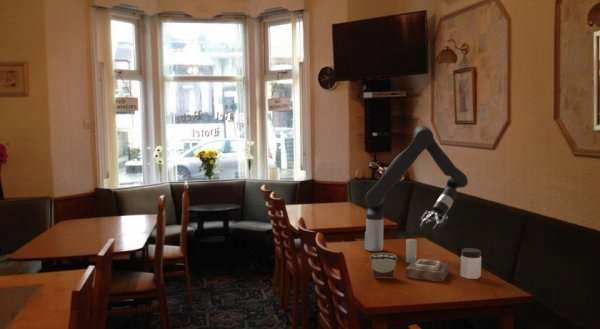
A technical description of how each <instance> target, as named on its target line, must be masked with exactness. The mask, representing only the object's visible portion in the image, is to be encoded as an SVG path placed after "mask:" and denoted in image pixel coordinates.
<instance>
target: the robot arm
mask: <svg viewBox="0 0 600 329" xmlns="http://www.w3.org/2000/svg"><path fill="white" fill-rule="evenodd" d="M425 150H426V151H427V153H429V155H430V156H431V158H432V160H433V161H434V162H435V164H436V166H437V167H438V169H439V170H441V172H442V173H443V175H445V176H446V177H449V178H448V179H447V181H446V183H445V187H444V190H443V191H442V193H441V194H440V195H439V197H438V198H437V199H436V200H435V203H434V205H433V206H432V207H431V211H428V210H425V211H424V213H423V214H422V215H421V217H420V220H421V223H420V224H419V228H420V229H421V230H423V229H424V228H425V227H426V225H427V223H431V222H436V223H435V224H434V226H433V227H432V229H431V230H432V231H433V232H434V233H436V232H437V231H438V230H439V228H440V227H445V225H446V223H447V222H448V220H449V216H448V215H447V214H448V212H449V210H450V209H451V207H452V205H453V203H454V202H455V200H456V198H457V196H458V191H457V189H461V188H465V187H466V186H468V183H469V181H468V177H467V176H466V173H464V172H463V171H462V170H460V169H459V168H458V167H457V166H455V165H454V163H453V162H452V160H451V158H449V156H448V155H447V154H446V153H445V152H444V150H442V148H441V147H440V146H439V144H438V143H437V141H436V140H435V138H434V134H433V131H431V129H430V128H429V127H428V126H425V125H421V126H417V127H416V128H415V129H414V132H413V139H412V141H411V142H410V143H409V145H408V146H407V148H405V149H404V150H403V151H402V152H400V153H399V154H398V155H397V156H395V157H394V159H392V161H391V162H390V164H389V165H388V167H387V168H386V169H385V171H384V172H383V173H382V175H381V177H380V178H379V180H378V181H377V182H376V183H375V184H374V186H373V187H372V188H370V189H369V190H368V191H367V192H366V194H365V198H364V201H365V204H366V205H367V208H366V209H367V210H366V214H365V218H366V219H365V221H366V222H365V230H366V231H365V232H364V250H365V251H370V252H382V251H383V250H384V214H385V203H386V202H385V197H386V195H387V194H388V192H389V191H390V190H391V189H392V188H393V187H394V186H395V185H396V184H397V183H399V181H400V180H401V179H403V177H404V176H405V174H406V173H407V172H408V171H409V169H410V168H411V167H412V165H413V164H414V163H415V161H416V160H417V158H418V157H419V156H420V155H421V154H422V152H424V151H425Z"/></svg>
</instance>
